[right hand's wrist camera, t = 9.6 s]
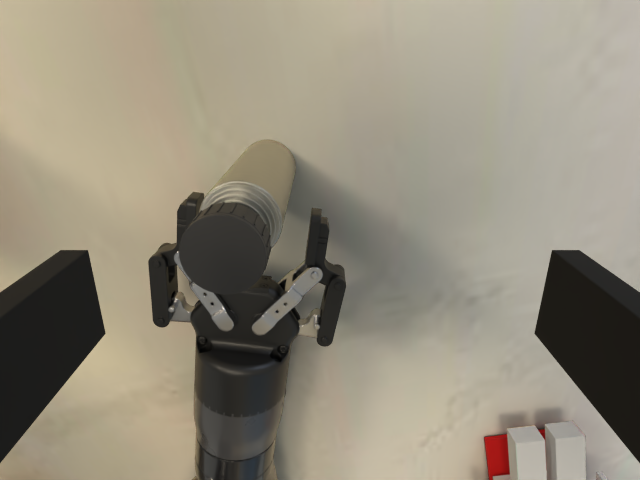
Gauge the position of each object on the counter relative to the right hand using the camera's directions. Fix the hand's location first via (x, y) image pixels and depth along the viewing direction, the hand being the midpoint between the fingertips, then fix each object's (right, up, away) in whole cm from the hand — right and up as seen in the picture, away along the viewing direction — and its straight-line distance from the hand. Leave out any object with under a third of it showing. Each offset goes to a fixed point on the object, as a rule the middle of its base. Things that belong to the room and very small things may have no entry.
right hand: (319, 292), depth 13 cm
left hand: (-4, +4, +18) cm, 19 cm away
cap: (-4, +1, +7) cm, 8 cm away
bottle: (-4, +8, +24) cm, 25 cm away
